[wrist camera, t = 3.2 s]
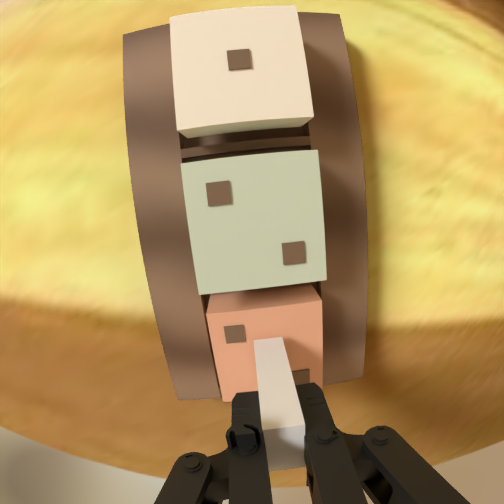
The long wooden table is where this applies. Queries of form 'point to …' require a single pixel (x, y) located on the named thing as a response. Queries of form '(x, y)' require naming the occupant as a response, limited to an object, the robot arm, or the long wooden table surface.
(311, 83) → the brown wooden tray
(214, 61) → the button one cream
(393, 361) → the long wooden table surface
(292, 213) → the button two sage
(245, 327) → the button three terracotta
